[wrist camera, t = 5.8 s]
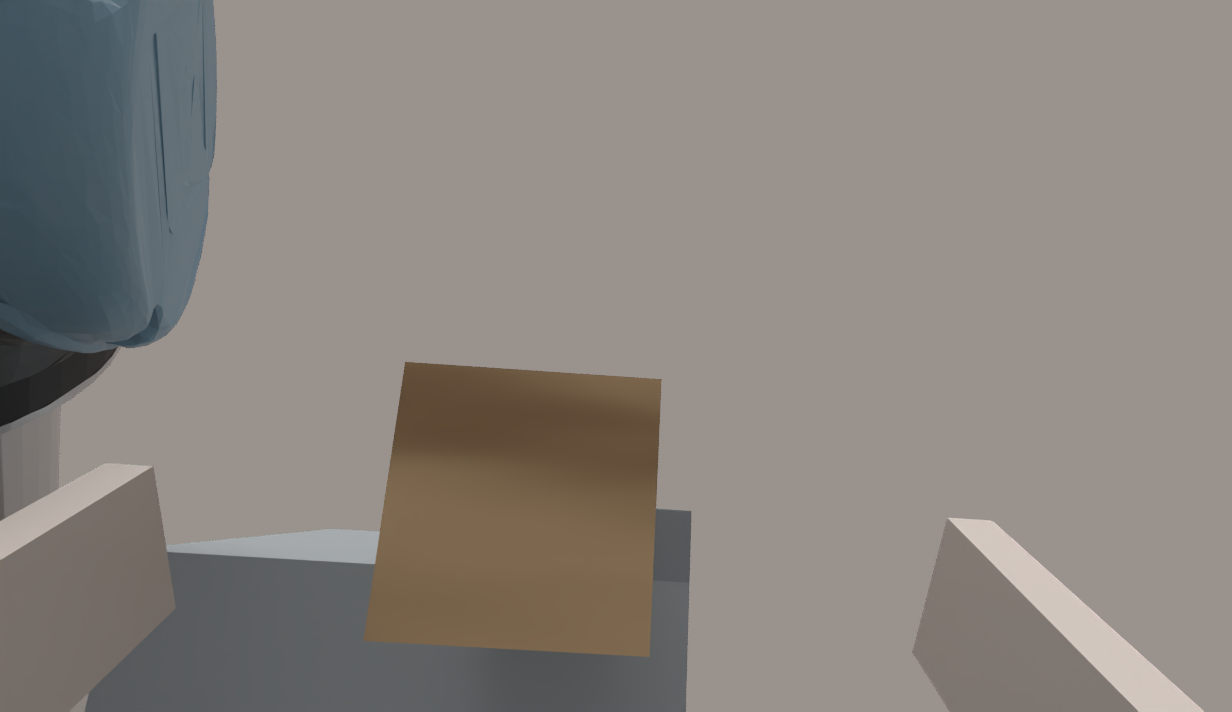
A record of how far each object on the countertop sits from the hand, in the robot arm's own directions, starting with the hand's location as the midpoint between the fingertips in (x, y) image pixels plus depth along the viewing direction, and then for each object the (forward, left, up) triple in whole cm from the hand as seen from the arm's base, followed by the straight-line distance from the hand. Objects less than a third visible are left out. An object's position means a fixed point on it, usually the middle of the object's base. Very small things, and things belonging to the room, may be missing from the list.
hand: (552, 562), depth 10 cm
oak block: (-9, +5, -1) cm, 10 cm away
